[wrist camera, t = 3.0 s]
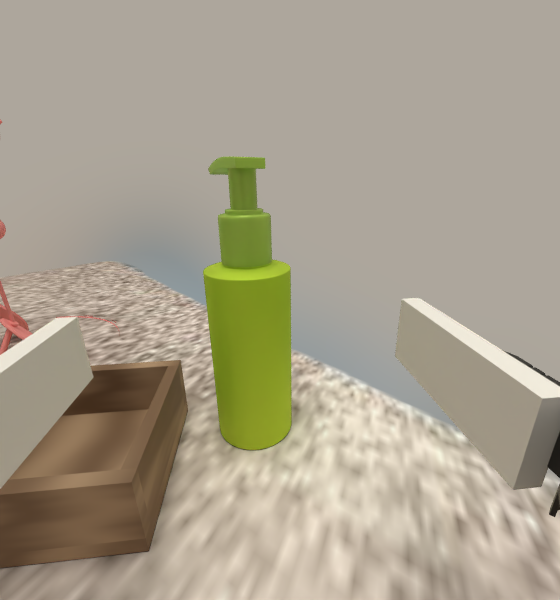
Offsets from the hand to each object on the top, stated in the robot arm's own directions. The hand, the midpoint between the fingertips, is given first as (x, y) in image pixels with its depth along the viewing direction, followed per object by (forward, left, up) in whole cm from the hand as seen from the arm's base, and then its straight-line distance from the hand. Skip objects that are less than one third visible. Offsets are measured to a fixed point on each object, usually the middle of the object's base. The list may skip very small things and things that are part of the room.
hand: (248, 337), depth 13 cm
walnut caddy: (-13, -2, -12) cm, 18 cm away
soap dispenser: (-6, +8, -12) cm, 16 cm away
